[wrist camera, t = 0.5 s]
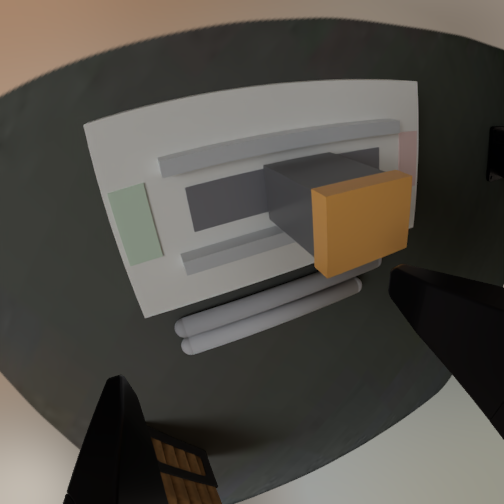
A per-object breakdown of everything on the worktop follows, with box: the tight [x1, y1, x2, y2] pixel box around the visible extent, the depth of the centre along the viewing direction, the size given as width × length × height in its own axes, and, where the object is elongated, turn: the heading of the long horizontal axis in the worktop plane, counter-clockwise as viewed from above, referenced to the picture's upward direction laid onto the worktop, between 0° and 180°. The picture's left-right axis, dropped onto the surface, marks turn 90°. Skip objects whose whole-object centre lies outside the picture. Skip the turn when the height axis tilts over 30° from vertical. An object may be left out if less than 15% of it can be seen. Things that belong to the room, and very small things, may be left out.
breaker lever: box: [263, 152, 412, 279], centre depth 15 cm, size 4×3×6 cm
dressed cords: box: [175, 258, 382, 355], centre depth 24 cm, size 17×3×1 cm, turn 98°
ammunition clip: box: [147, 426, 222, 504], centre depth 24 cm, size 11×2×12 cm, turn 32°
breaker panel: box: [84, 79, 418, 318], centre depth 18 cm, size 20×11×4 cm, turn 98°
